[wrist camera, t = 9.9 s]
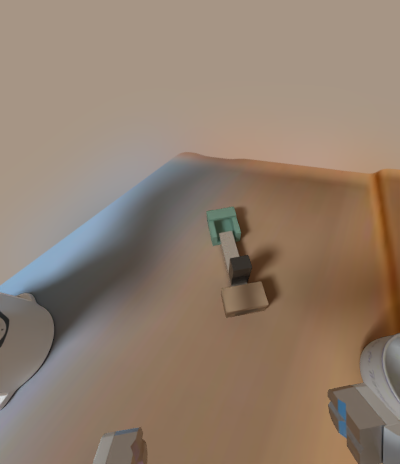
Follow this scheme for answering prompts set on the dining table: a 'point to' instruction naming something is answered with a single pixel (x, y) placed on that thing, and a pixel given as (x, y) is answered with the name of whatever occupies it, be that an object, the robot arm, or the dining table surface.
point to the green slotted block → (223, 224)
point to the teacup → (383, 370)
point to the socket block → (244, 299)
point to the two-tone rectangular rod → (234, 260)
